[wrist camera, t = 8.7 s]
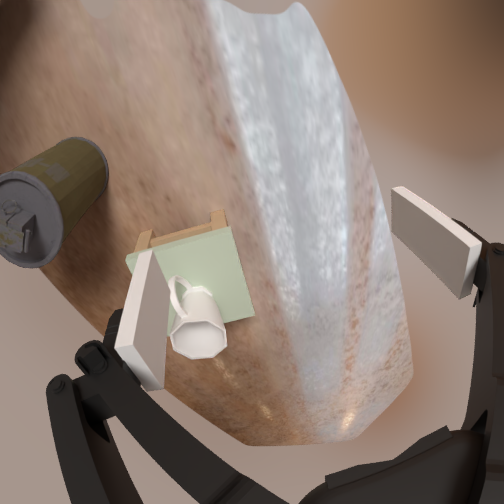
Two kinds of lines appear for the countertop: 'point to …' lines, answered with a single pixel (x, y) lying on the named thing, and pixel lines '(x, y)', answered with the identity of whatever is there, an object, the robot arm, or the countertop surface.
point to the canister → (48, 200)
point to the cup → (196, 322)
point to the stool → (201, 265)
